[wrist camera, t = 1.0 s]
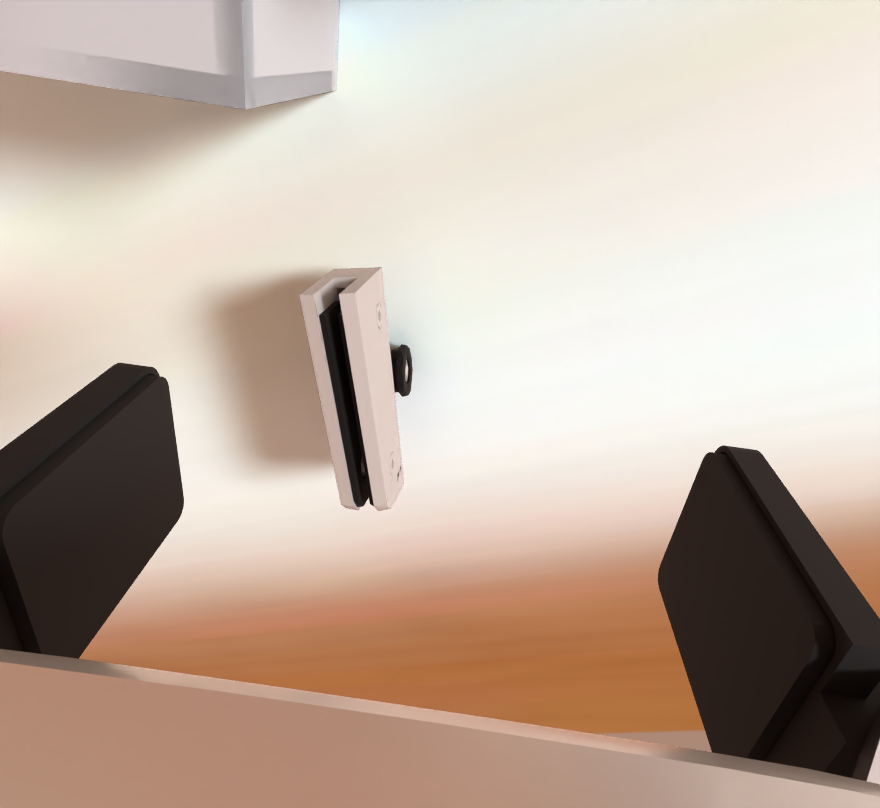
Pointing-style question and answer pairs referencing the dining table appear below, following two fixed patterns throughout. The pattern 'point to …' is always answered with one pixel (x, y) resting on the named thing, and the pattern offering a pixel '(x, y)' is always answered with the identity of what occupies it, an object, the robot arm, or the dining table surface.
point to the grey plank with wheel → (358, 383)
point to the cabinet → (178, 46)
